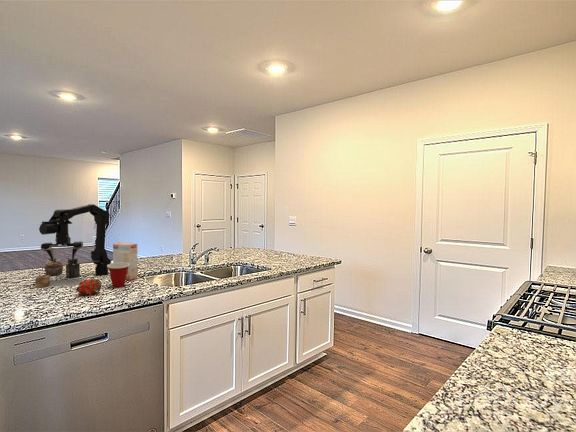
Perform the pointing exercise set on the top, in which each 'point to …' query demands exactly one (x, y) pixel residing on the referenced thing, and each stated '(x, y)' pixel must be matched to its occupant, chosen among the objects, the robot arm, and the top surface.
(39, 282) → the walnut block
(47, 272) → the cupcake
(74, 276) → the supplement bottle
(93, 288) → the dragon fruit
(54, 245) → the robot arm
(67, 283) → the gray board
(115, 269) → the plastic cup
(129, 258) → the cracker box
